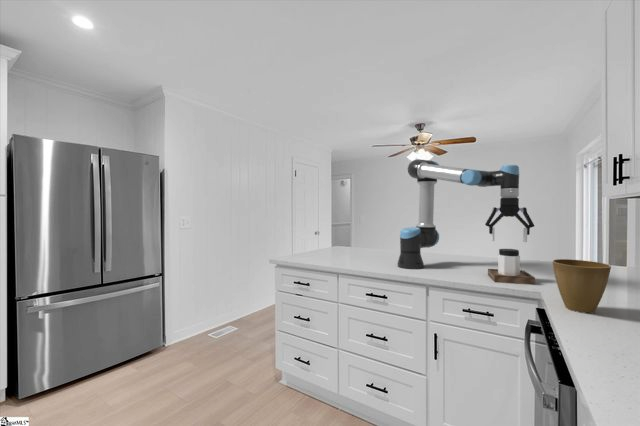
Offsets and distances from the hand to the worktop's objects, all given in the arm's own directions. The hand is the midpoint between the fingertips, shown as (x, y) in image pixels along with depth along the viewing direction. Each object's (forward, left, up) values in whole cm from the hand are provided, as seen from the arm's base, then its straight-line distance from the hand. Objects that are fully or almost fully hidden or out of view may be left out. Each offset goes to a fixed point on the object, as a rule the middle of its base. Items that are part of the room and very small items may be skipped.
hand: (508, 241), depth 145 cm
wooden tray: (0, 0, -19) cm, 19 cm away
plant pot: (+11, -43, -19) cm, 48 cm away
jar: (0, 0, -16) cm, 16 cm away
